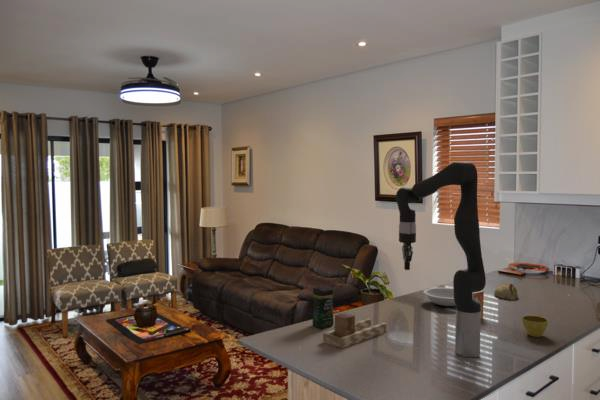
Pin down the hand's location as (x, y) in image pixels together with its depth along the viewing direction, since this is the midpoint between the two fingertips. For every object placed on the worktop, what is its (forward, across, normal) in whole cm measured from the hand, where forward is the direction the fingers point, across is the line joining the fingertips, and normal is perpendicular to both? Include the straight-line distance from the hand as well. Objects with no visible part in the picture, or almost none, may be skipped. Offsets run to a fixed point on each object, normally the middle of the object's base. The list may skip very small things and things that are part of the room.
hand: (407, 269), depth 214 cm
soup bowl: (+27, -40, +29) cm, 56 cm away
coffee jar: (+27, -3, -38) cm, 47 cm away
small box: (+27, -18, +36) cm, 49 cm away
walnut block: (+26, +17, -29) cm, 43 cm away
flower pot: (+27, +8, +54) cm, 61 cm away
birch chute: (+27, +12, -24) cm, 38 cm away
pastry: (+27, -57, +68) cm, 93 cm away
